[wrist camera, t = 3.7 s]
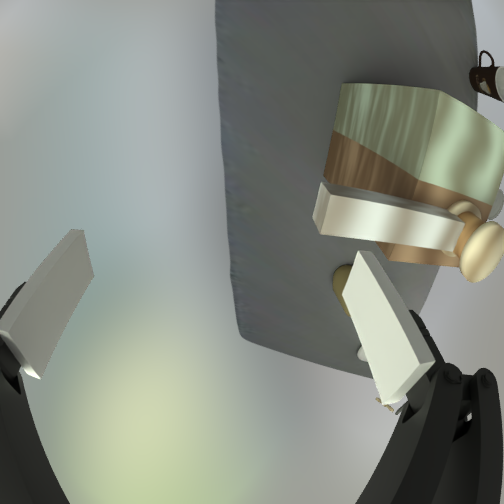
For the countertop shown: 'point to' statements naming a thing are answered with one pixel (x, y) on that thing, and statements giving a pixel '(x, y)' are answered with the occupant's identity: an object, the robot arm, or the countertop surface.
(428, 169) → the stand
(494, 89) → the coffee mug
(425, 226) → the bobbin
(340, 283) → the squeeze bottle
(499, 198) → the canned tomato
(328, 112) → the countertop surface
